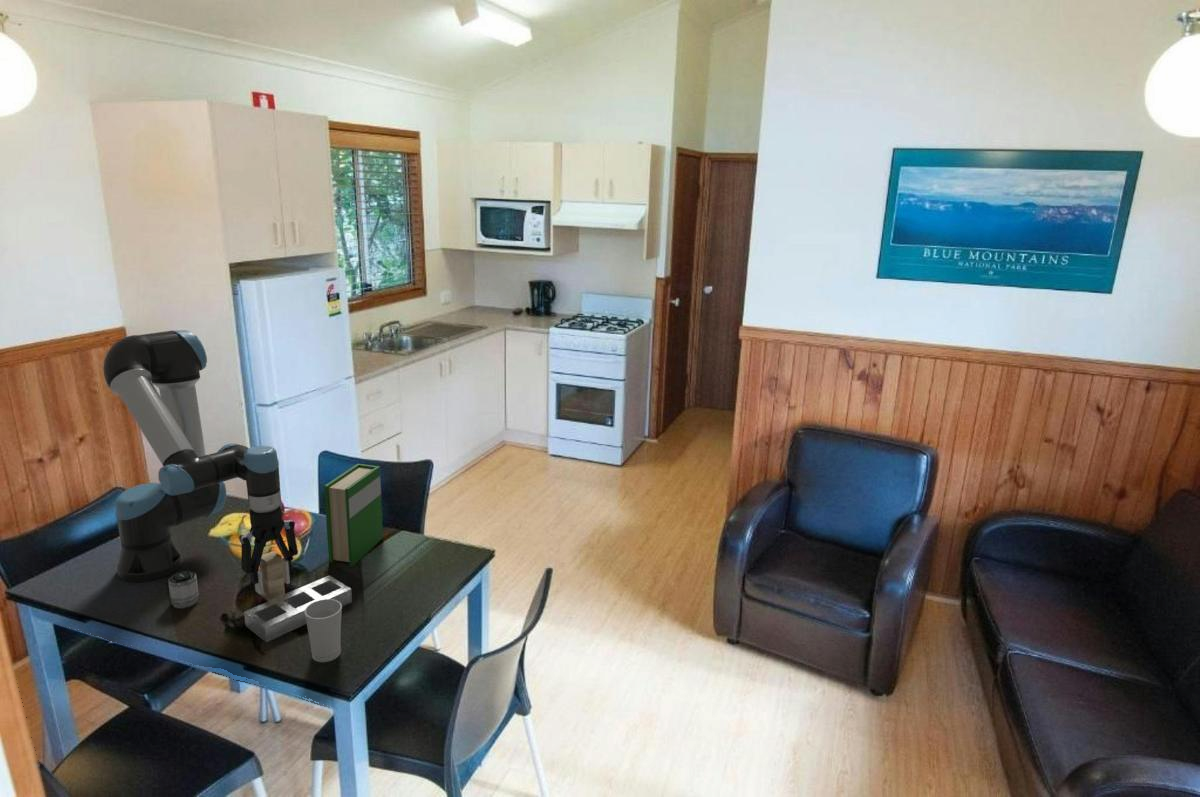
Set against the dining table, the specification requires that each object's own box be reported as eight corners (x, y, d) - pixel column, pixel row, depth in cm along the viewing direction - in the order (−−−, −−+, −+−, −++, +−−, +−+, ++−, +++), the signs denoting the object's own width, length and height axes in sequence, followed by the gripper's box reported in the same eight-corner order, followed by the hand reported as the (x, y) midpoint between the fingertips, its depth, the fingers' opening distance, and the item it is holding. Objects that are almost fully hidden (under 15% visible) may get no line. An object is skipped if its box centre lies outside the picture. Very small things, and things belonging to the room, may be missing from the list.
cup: (332, 638, 169) (330, 595, 166) (351, 653, 164) (348, 608, 161) (301, 653, 163) (297, 608, 160) (319, 669, 158) (316, 623, 155)
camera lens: (180, 612, 176) (176, 584, 174) (166, 603, 180) (162, 576, 177) (204, 600, 182) (201, 573, 179) (190, 592, 185) (187, 566, 182)
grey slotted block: (245, 625, 172) (243, 611, 171) (330, 588, 190) (329, 575, 189) (266, 642, 167) (264, 628, 165) (351, 602, 184) (351, 588, 183)
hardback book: (352, 566, 202) (348, 489, 195) (329, 562, 203) (324, 485, 196) (382, 538, 218) (379, 466, 211) (361, 534, 219) (357, 463, 213)
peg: (262, 597, 184) (258, 556, 181) (277, 591, 187) (273, 550, 184) (270, 603, 182) (266, 561, 179) (285, 596, 185) (281, 556, 182)
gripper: (234, 524, 168) (243, 608, 174) (309, 499, 183) (315, 577, 189) (219, 514, 172) (228, 596, 179) (293, 491, 187) (300, 568, 194)
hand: (273, 586), depth 184 cm, fingers open, 6 cm apart
